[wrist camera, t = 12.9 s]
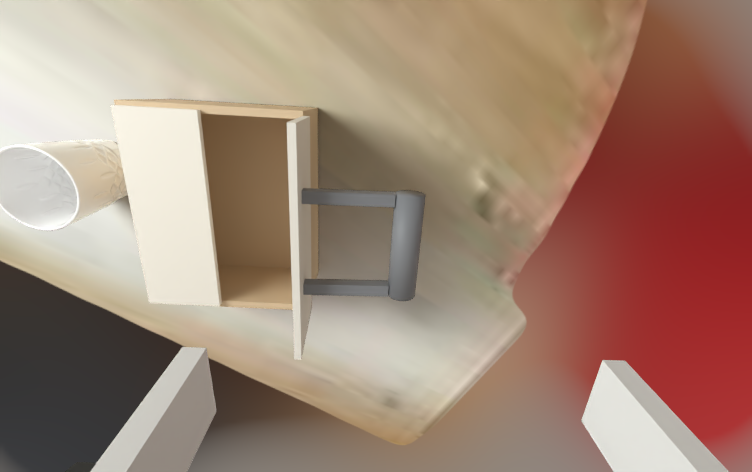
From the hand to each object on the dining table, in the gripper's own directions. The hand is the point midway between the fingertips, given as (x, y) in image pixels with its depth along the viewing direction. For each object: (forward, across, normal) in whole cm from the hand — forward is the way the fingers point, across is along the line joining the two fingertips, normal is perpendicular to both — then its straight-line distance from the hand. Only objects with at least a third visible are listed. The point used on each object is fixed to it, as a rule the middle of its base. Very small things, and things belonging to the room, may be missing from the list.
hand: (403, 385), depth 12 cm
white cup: (+33, -31, 0) cm, 45 cm away
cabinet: (+32, -15, -3) cm, 36 cm away
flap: (+19, -7, -3) cm, 21 cm away
